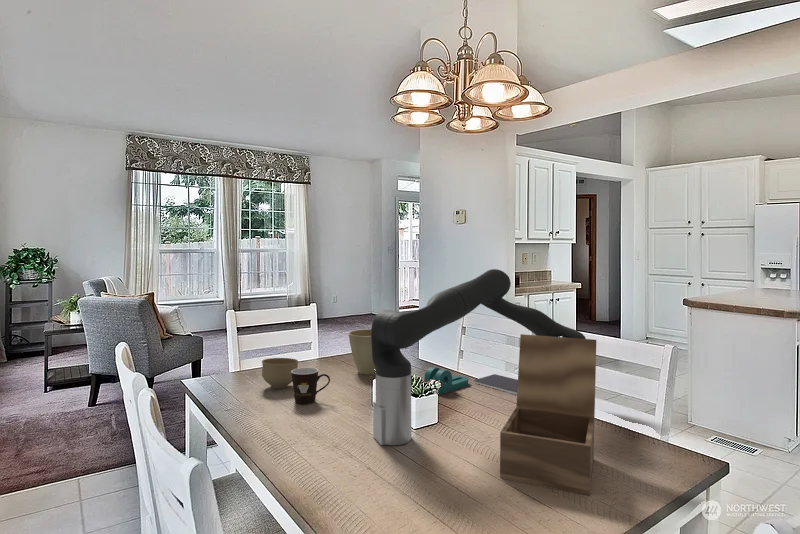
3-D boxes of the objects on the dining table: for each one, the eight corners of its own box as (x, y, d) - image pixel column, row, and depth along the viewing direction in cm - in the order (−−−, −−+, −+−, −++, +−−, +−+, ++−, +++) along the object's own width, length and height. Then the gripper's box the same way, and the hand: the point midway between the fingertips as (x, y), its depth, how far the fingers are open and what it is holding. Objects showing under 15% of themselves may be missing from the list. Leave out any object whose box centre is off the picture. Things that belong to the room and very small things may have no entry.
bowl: (306, 385, 173) (305, 358, 172) (279, 395, 162) (279, 365, 162) (281, 380, 180) (280, 354, 179) (254, 389, 169) (253, 360, 168)
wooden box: (516, 446, 120) (516, 406, 120) (593, 459, 113) (594, 417, 112) (500, 477, 104) (500, 432, 103) (589, 495, 96) (590, 446, 96)
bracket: (439, 395, 162) (439, 372, 161) (424, 391, 167) (424, 368, 166) (472, 384, 174) (472, 363, 174) (457, 380, 179) (457, 360, 179)
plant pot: (341, 372, 191) (341, 332, 190) (370, 365, 201) (370, 327, 201) (364, 379, 180) (364, 337, 179) (394, 372, 190) (394, 332, 190)
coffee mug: (286, 403, 153) (285, 372, 152) (301, 396, 161) (301, 366, 160) (317, 408, 149) (317, 376, 148) (331, 400, 156) (331, 369, 156)
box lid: (516, 406, 120) (517, 406, 121) (594, 417, 112) (594, 416, 113) (520, 334, 123) (521, 334, 124) (596, 339, 116) (596, 340, 117)
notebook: (543, 390, 168) (494, 378, 184) (543, 385, 168) (494, 374, 184) (522, 398, 160) (472, 384, 176) (522, 393, 160) (472, 380, 176)
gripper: (540, 342, 140) (531, 354, 125) (589, 345, 135) (585, 359, 119) (540, 367, 141) (530, 383, 125) (589, 372, 135) (585, 389, 120)
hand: (557, 371), depth 122 cm, fingers closed
